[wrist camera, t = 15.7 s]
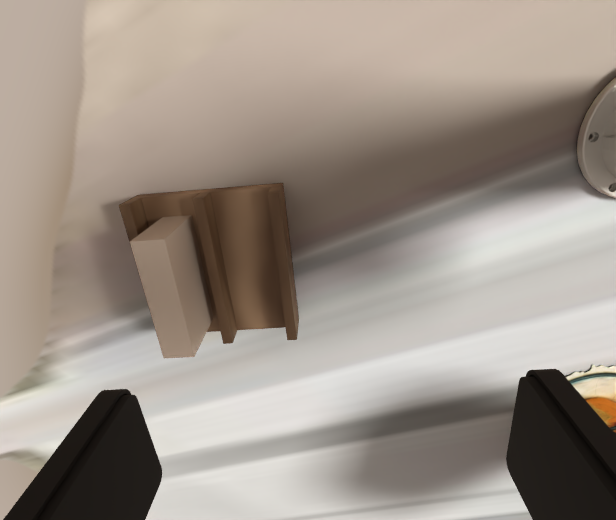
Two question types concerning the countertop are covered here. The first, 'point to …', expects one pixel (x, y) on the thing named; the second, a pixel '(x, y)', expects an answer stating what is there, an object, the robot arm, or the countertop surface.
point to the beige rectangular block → (174, 284)
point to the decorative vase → (598, 391)
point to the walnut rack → (233, 251)
